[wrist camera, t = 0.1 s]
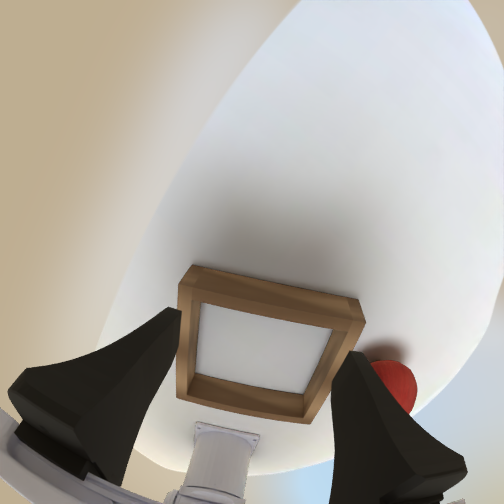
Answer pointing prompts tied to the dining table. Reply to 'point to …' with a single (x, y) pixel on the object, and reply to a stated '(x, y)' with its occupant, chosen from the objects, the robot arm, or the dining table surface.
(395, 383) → the onion
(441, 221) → the dining table surface
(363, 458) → the robot arm
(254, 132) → the dining table surface
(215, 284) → the box
